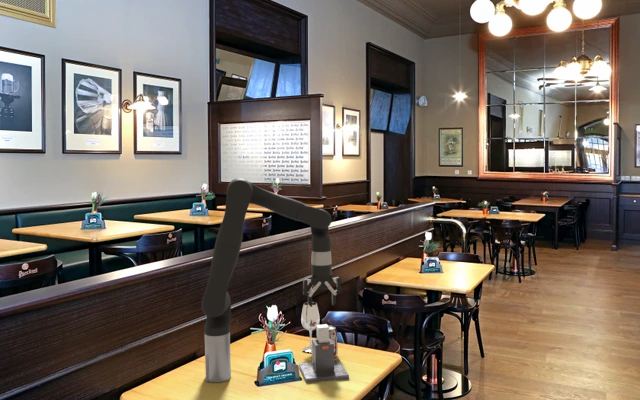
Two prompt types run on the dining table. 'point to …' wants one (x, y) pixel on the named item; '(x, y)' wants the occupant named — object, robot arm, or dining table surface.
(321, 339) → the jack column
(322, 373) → the stand base
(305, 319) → the wineglass
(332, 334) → the soda can
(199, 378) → the dining table surface
